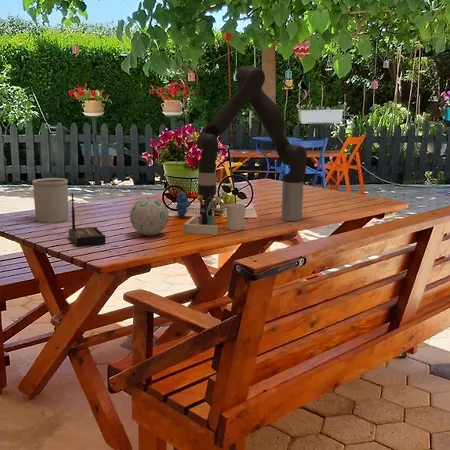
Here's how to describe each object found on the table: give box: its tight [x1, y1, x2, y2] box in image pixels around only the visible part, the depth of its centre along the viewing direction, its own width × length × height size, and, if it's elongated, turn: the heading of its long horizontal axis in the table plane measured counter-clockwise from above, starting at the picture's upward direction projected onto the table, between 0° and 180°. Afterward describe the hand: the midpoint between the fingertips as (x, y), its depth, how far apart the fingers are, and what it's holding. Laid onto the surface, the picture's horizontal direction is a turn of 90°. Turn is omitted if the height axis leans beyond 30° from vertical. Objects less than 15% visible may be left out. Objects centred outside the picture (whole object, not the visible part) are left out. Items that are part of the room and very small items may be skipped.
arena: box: [182, 215, 219, 236], centre depth 256 cm, size 17×14×4 cm
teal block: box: [198, 215, 216, 226], centre depth 255 cm, size 6×6×6 cm
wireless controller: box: [68, 192, 106, 248], centre depth 235 cm, size 20×14×17 cm
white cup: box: [225, 203, 246, 231], centre depth 257 cm, size 8×8×10 cm
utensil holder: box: [31, 177, 69, 224], centre depth 269 cm, size 15×15×18 cm
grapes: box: [175, 191, 192, 218], centre depth 279 cm, size 12×7×12 cm, turn 20°
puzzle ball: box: [129, 196, 170, 237], centre depth 244 cm, size 15×15×15 cm
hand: (207, 222), depth 255 cm, fingers open, 8 cm apart
